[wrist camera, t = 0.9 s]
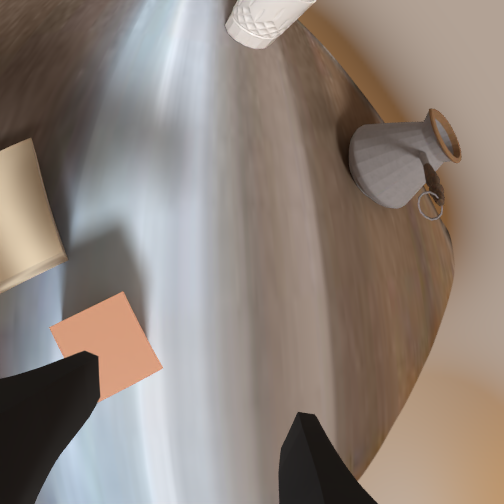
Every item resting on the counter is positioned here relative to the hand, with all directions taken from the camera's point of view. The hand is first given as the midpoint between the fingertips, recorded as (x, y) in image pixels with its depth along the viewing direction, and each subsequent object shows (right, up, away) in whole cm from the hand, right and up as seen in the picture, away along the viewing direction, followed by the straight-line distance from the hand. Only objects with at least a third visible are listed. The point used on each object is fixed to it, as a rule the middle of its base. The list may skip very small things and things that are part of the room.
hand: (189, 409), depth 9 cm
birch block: (-18, +6, +8) cm, 21 cm away
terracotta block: (-9, -1, +11) cm, 14 cm away
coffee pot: (+14, +13, +26) cm, 33 cm away
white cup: (+1, +34, +24) cm, 42 cm away
